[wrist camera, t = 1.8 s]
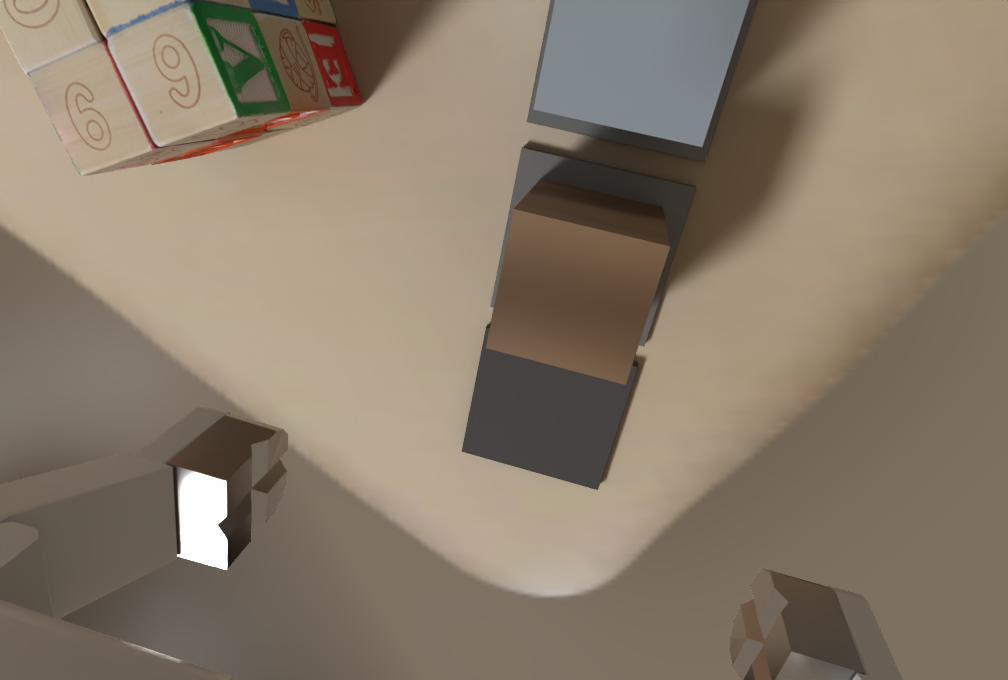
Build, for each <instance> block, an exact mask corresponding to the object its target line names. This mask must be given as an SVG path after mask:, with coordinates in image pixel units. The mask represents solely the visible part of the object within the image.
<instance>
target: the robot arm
mask: <svg viewBox="0 0 1008 680" xmlns="http://www.w3.org/2000/svg"><path fill="white" fill-rule="evenodd" d="M287 451H288V434H287V433H286V432H285V430H284V429H281V428H278V427H275V426H271V425H268V424H265V423H262V422H259V421H255V420H252V419H249V418H246V417H243V416H240V415H236V414H233V413H232V414H231V413H229V412H225V411H222V410H219V409H216V408H213V407H209V406H202V407H197V408H196V409H195V410H193V411H192V412H191V413H189V414H188V415H187V416H185V417H184V418H183V419H181V420H180V421H179V422H177V423H176V424H175V425H173V426H172V427H171V428H169V429H168V430H167V431H165V432H164V433H163V434H161V435H160V436H159V437H157V438H156V439H155V440H153V441H152V442H151V443H149V444H148V445H147V446H145V447H144V448H143V449H141V450H140V451H138V452H137V453H136V454H134V455H133V454H130V453H126V452H125V453H121V454H117V455H114V456H109V457H106V458H102V459H98V460H94V461H90V462H86V463H83V464H78V465H75V466H70V467H67V468H63V469H59V470H55V471H51V472H47V473H44V474H39V475H36V476H32V477H28V478H24V479H20V480H16V481H12V482H8V483H4V484H0V680H239V679H236V678H233V677H230V676H227V675H224V674H221V673H218V672H215V671H212V670H209V669H206V668H203V667H200V666H197V665H194V664H191V663H188V662H185V661H182V660H179V659H176V658H173V657H171V656H168V655H165V654H162V653H158V652H156V651H153V650H150V649H147V648H144V647H141V646H137V645H135V644H132V643H129V642H126V641H123V640H120V639H117V638H114V637H111V636H108V635H105V634H102V633H99V632H96V631H93V630H90V629H87V628H84V627H81V626H78V625H75V624H72V623H69V622H66V621H63V620H60V619H59V618H61V617H63V616H65V615H67V614H69V613H71V612H73V611H75V610H77V609H79V608H81V607H83V606H85V605H87V604H89V603H91V602H93V601H95V600H96V599H99V598H101V597H103V596H105V595H107V594H109V593H111V592H113V591H115V590H117V589H119V588H121V587H123V586H125V585H127V584H129V583H130V582H133V581H134V580H137V579H139V578H140V577H142V576H145V575H146V574H149V573H150V572H152V571H154V570H156V569H158V568H160V567H162V566H164V565H166V564H168V563H170V562H172V561H174V560H176V559H177V558H178V556H180V557H183V558H187V559H190V560H194V561H197V562H201V563H205V564H208V565H211V566H215V567H218V568H222V569H225V570H227V569H228V568H229V567H230V566H231V564H232V563H233V562H234V561H235V559H236V558H237V557H238V556H239V555H240V554H241V552H242V551H243V550H244V549H245V548H246V546H247V545H248V544H249V543H250V542H251V529H252V528H255V527H257V526H260V525H262V524H265V523H266V522H267V521H268V520H269V519H270V517H271V516H272V515H273V513H274V512H275V511H276V509H277V507H278V505H279V503H280V501H281V499H282V497H283V494H284V489H285V485H286V478H287V470H286V469H285V467H284V465H283V464H282V462H281V460H280V458H281V457H282V456H283V455H284V454H285V453H286V452H287ZM751 590H752V594H753V598H754V599H753V600H751V601H749V602H747V603H744V604H742V605H741V606H740V608H739V610H738V612H737V615H736V617H735V619H734V621H733V627H732V632H731V637H730V653H731V659H732V666H733V668H734V669H735V670H736V671H737V673H738V674H739V676H740V677H741V678H742V679H743V680H903V679H902V677H901V674H900V672H899V670H898V668H897V666H896V663H895V661H894V659H893V657H892V654H891V652H890V650H889V648H888V646H887V643H886V641H885V639H884V637H883V634H882V632H881V630H880V628H879V625H878V623H877V621H876V619H875V616H874V614H873V612H872V610H871V608H870V605H869V603H868V601H867V600H866V599H865V598H864V597H863V596H862V595H861V594H857V593H853V592H849V591H846V590H842V589H838V588H834V587H831V586H823V585H820V584H816V583H813V582H810V581H806V580H802V579H799V578H795V577H792V576H788V575H785V574H781V573H778V572H774V571H771V570H767V569H764V568H763V569H762V570H761V571H760V572H758V573H757V575H756V576H755V578H754V580H753V582H752V584H751Z"/></svg>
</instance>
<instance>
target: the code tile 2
mask: <svg viewBox="0 0 1008 680" xmlns="http://www.w3.org/2000/svg"><path fill="white" fill-rule="evenodd" d="M554 3H555V0H551V1H550V7H549V12H548V17H547V22H546V27H545V32H544V37H543V42H542V47H541V52H540V57H539V63H538V68H537V73H536V78H535V83H534V88H533V93H532V98H531V103H530V108H529V113H528V119H527V122H530V123H534V124H539V125H543V126H548V127H552V128H556V129H561V130H565V131H570V132H574V133H579V134H583V135H588V136H592V137H596V138H601V139H605V140H610V141H614V142H619V143H623V144H628V145H632V146H636V147H641V148H645V149H650V150H654V151H659V152H663V153H668V154H672V155H676V156H681V157H685V158H690V159H694V160H699V161H703V162H705V159H706V156H707V153H708V150H709V147H710V144H711V141H712V138H713V135H714V132H715V129H716V126H717V123H718V120H719V117H720V113H721V110H722V107H723V104H724V101H725V98H726V95H727V92H728V89H729V86H730V83H731V80H732V77H733V74H734V71H735V68H736V65H737V61H738V58H739V55H740V52H741V49H742V46H743V43H744V40H745V37H746V34H747V31H748V28H749V25H750V22H751V19H752V16H753V12H754V9H755V6H756V3H757V0H750V1H749V4H748V7H747V10H746V13H745V16H744V19H743V22H742V25H741V28H740V32H739V35H738V38H737V41H736V44H735V47H734V50H733V53H732V56H731V60H730V63H729V66H728V69H727V72H726V75H725V78H724V81H723V84H722V87H721V91H720V94H719V97H718V100H717V103H716V106H715V109H714V112H713V115H712V119H711V122H710V125H709V128H708V131H707V134H706V137H705V140H704V143H703V147H699V146H695V145H690V144H686V143H681V142H677V141H672V140H668V139H663V138H659V137H654V136H650V135H645V134H641V133H636V132H632V131H627V130H623V129H618V128H614V127H609V126H605V125H600V124H596V123H591V122H587V121H583V120H578V119H574V118H569V117H565V116H560V115H556V114H551V113H547V112H542V111H538V110H533V108H534V103H535V98H536V93H537V88H538V83H539V78H540V73H541V68H542V63H543V58H544V53H545V48H546V43H547V38H548V33H549V28H550V23H551V18H552V13H553V8H554Z"/></svg>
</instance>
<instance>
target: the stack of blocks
mask: <svg viewBox="0 0 1008 680" xmlns="http://www.w3.org/2000/svg"><path fill="white" fill-rule="evenodd" d="M335 24H336V18H335V15H334V12H333V9H332V6H331V3H330V1H329V0H0V27H1V29H2V31H3V33H4V35H5V37H6V39H7V41H8V43H9V45H10V47H11V49H12V51H13V52H14V54H15V56H16V58H17V60H18V62H19V64H20V66H21V68H22V69H23V71H24V72H25V73H26V74H27V75H29V76H30V79H31V82H32V85H33V87H34V89H35V90H36V92H37V94H38V96H39V98H40V100H41V102H42V104H43V106H44V108H45V110H46V112H47V114H48V115H49V117H50V119H51V121H52V123H53V125H54V128H55V130H56V132H57V134H58V136H59V138H60V140H61V141H62V143H63V145H64V146H65V148H66V150H67V152H68V154H69V156H70V158H71V160H72V162H73V164H74V166H75V168H76V170H77V171H78V173H79V174H80V175H81V176H86V175H92V174H98V173H104V172H110V171H116V170H121V169H127V168H133V167H139V166H144V165H148V164H151V165H154V164H160V163H166V162H171V161H177V160H182V159H187V158H192V157H197V156H202V155H205V154H209V153H214V152H218V151H223V150H228V149H232V148H237V147H242V146H246V145H249V144H252V143H255V142H258V141H261V140H264V139H267V138H270V137H273V136H276V135H279V134H282V133H284V132H287V131H290V130H293V129H296V128H299V127H302V126H306V125H310V124H313V123H316V122H319V121H322V120H325V119H328V118H331V117H333V116H336V115H339V114H342V113H345V112H347V111H350V110H352V109H354V108H357V107H359V106H361V105H362V104H363V102H362V98H361V95H360V93H359V90H358V87H357V84H356V82H355V79H354V76H353V73H352V70H351V68H350V65H349V62H348V59H347V56H346V54H345V51H344V47H343V45H342V43H341V40H340V37H339V33H338V31H337V29H336V28H335Z"/></svg>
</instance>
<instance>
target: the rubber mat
mask: <svg viewBox="0 0 1008 680" xmlns="http://www.w3.org/2000/svg"><path fill="white" fill-rule="evenodd" d="M489 329H490V325H489V324H488V325H487V327H486V331H485V336H484V341H483V346H482V351H481V356H480V361H479V366H478V372H477V377H476V382H475V387H474V392H473V397H472V402H471V407H470V412H469V417H468V423H467V428H466V433H465V438H464V443H463V448H462V452H466V453H469V454H473V455H476V456H480V457H483V458H487V459H490V460H494V461H497V462H501V463H504V464H508V465H511V466H515V467H518V468H522V469H526V470H529V471H533V472H536V473H540V474H543V475H547V476H550V477H554V478H557V479H561V480H564V481H568V482H571V483H575V484H578V485H582V486H585V487H589V488H593V489H596V490H598V488H599V485H600V481H601V478H602V475H603V472H604V469H605V466H606V463H607V460H608V457H609V454H610V451H611V448H612V445H613V442H614V439H615V436H616V433H617V430H618V426H619V423H620V420H621V417H622V414H623V411H624V408H625V405H626V402H627V399H628V396H629V393H630V390H631V387H632V384H633V381H634V378H635V374H636V371H637V368H638V363H635V362H633V364H632V367H631V370H630V373H629V376H628V380H627V383H626V385H624V384H620V383H616V382H613V381H609V380H605V379H601V378H598V377H594V376H590V375H586V374H582V373H579V372H575V371H571V370H567V369H564V368H560V367H556V366H552V365H548V364H545V363H541V362H537V361H533V360H530V359H526V358H522V357H518V356H514V355H511V354H507V353H503V352H499V351H496V350H492V349H488V348H486V344H487V339H488V334H489Z"/></svg>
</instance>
